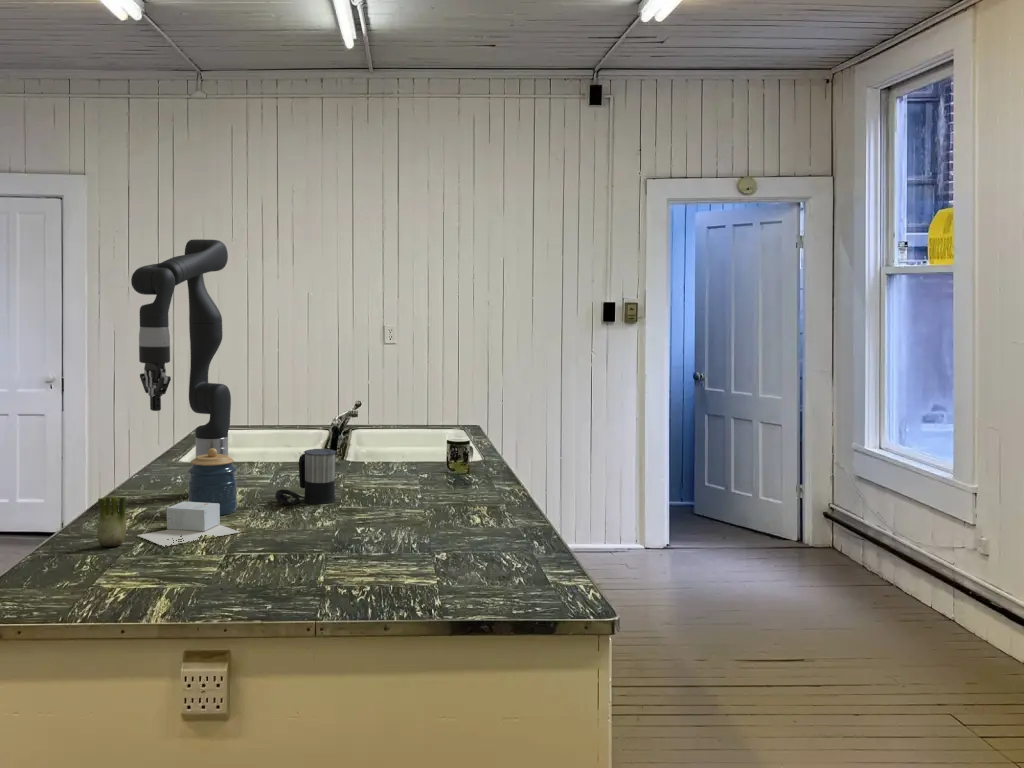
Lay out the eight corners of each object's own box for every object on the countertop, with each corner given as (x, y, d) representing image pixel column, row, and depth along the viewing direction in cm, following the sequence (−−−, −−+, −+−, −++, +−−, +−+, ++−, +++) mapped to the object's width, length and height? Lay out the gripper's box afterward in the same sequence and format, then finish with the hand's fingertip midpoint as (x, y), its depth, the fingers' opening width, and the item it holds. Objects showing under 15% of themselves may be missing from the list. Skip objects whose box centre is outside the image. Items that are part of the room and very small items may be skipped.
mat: (211, 523, 242) (211, 521, 242) (240, 533, 232) (240, 531, 232) (137, 536, 227) (137, 535, 227) (164, 548, 218) (164, 546, 218)
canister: (191, 518, 246) (191, 453, 245) (184, 508, 258) (183, 445, 256) (241, 514, 252) (241, 450, 251) (232, 504, 264) (232, 443, 262)
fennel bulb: (128, 543, 221) (127, 494, 220) (120, 549, 216) (119, 498, 215) (103, 543, 221) (102, 493, 220) (94, 548, 216) (93, 498, 215)
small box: (166, 529, 233) (204, 532, 231) (165, 507, 233) (203, 510, 231) (183, 522, 241) (220, 524, 239) (183, 500, 241) (220, 503, 239)
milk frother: (342, 499, 273) (342, 450, 271) (308, 510, 259) (308, 458, 257) (303, 494, 279) (303, 445, 278) (268, 504, 265) (268, 453, 263)
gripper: (180, 345, 239) (181, 411, 241) (156, 343, 248) (157, 407, 250) (152, 346, 234) (153, 414, 235) (128, 343, 243) (130, 409, 244)
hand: (155, 410), depth 243 cm, fingers closed
